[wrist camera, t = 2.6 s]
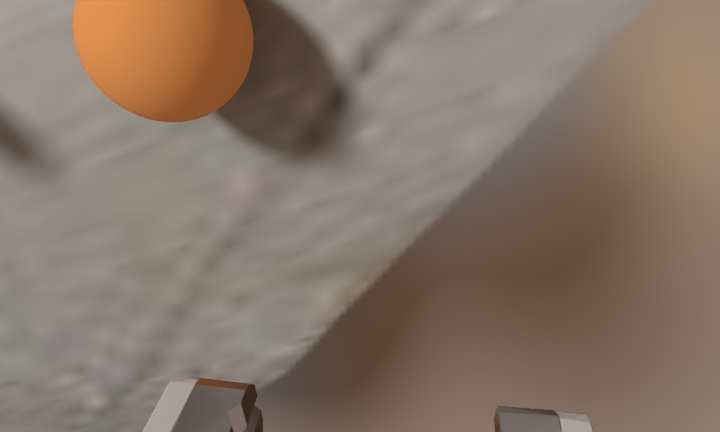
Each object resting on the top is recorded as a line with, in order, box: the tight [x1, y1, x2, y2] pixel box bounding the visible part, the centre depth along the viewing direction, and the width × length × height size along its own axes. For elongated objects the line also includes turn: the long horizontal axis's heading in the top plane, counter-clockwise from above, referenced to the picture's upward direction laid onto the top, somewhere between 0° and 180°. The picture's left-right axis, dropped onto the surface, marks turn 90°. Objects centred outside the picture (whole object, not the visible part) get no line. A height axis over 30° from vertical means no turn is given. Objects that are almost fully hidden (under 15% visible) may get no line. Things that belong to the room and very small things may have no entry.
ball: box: [73, 0, 253, 122], centre depth 19 cm, size 6×6×6 cm
